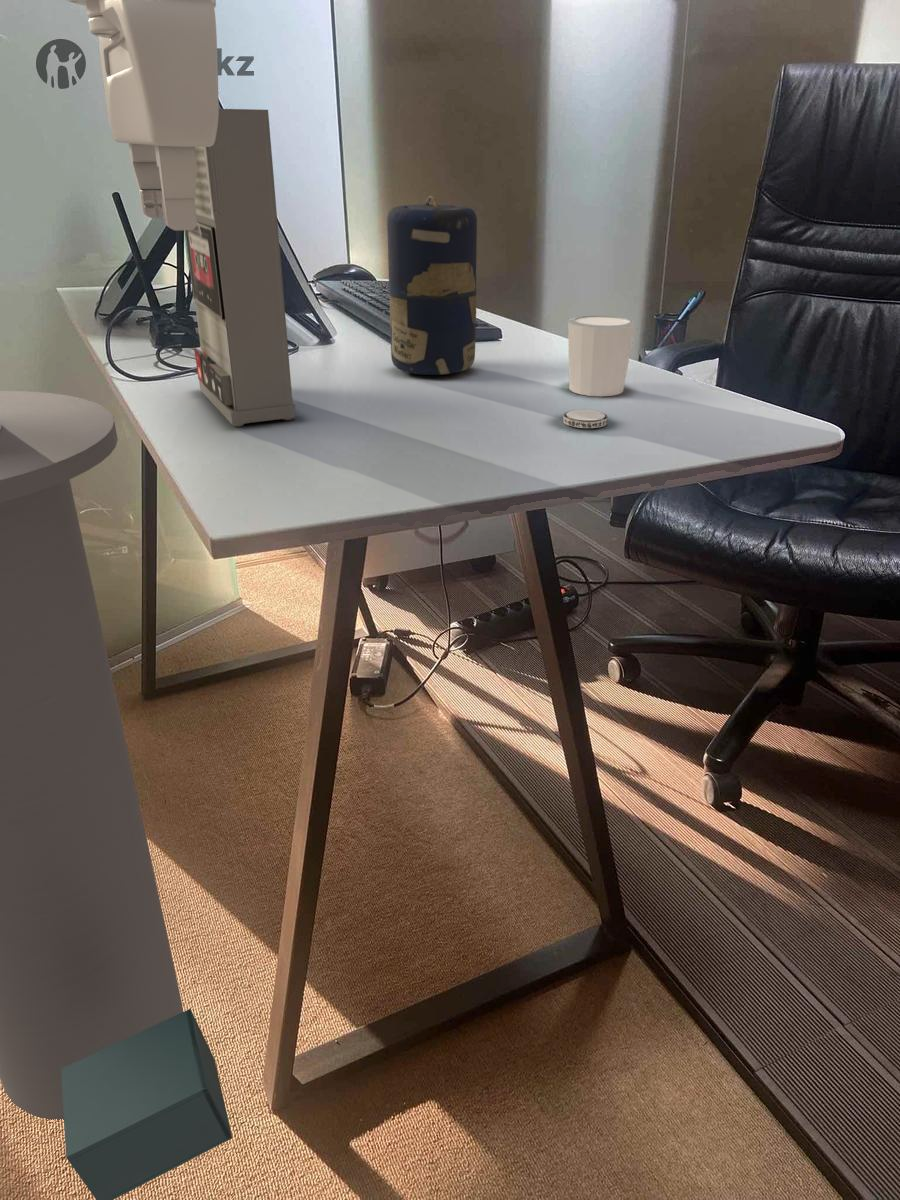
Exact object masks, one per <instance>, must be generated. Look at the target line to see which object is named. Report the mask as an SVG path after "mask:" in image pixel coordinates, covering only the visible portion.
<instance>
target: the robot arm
mask: <svg viewBox="0 0 900 1200" xmlns="http://www.w3.org/2000/svg"><path fill="white" fill-rule="evenodd" d="M66 1H68V2H70V3H72V4H76V5H81V6H85V7H86V12H87V14H86V15H87V17H88V27H89V32H90V34H92V35H93V36H96V37H98V43H99V55H100V62H101V72H102V80H103V88H104V95H105V102H106V111H107V117H108V124H109V128H110V132H111V135H112V138H113V140H114V141H115V142H117V143H120V144H128V149H129V157H130V163H131V167H132V170H133V174H134V178H135V181H136V184H137V188H138V193H139V200H140V207H141V212H142V213H143V215H145V216H146V217H148V218H151V219H163V222H164V224H165V226H166V227H168V228H169V229H171V230H172V231H184V230H193V229H195V227H196V226H197V216H196V207H195V191H196V177H197V163H196V153H195V147H211V146H213V145H214V143H215V140H216V134H217V127H218V116H219V109H220V108H219V106H220V105H219V104H220V102H219V68H218V67H219V65H218V38H217V37H218V36H217V20H216V12H215V8H216V6H217V0H66ZM1 428H2V426H1V424H0V430H1Z"/></svg>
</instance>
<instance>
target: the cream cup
mask: <svg viewBox="0 0 900 1200" xmlns="http://www.w3.org/2000/svg"><path fill="white" fill-rule="evenodd" d="M636 325H637V322H636V321H634V320H633V319H629V318H625V317H619V316H611V315H583V316H576V317H572V318H569V319H568V321H567V335H568V339H567V340H568V381H569V383H568V384H569V385H568V386H569V391H571V392H572V393H575V394H578V395H581V396H588V397H613V396H617V395H620V394H623V393H624V389H625V383H626V377H627V373H628V367H629V363H630V357H631V352H632V348H633V347H632V346H633V341H634V336H635V331H636V327H637V326H636Z"/></svg>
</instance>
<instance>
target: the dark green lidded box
mask: <svg viewBox="0 0 900 1200" xmlns="http://www.w3.org/2000/svg"><path fill="white" fill-rule="evenodd" d="M198 1023H199V1022H197V1019H196V1017H195V1015H194V1013H193V1011H192V1008H189V1009H186V1010H183V1012H182V1013H180V1014H178V1015H176V1016H174V1017H171V1018H169V1019H167V1020H165V1021H163V1022H161V1023H159V1024H156V1025H154V1026H152V1027H150V1028H148V1029H146V1030H143V1031H141V1032H139V1033H137V1034H135V1035H133V1036H131V1037H128V1038H126V1039H124V1040H122V1041H120V1042H118V1043H116V1044H113V1045H111V1046H109V1047H107V1048H105V1049H103V1050H100V1051H98V1052H96V1053H94V1054H92V1055H90V1056H88V1057H85V1058H83V1059H81V1060H79V1061H77V1062H75V1063H73V1064H70V1065H68V1066H66V1067H64V1068H62V1069H61V1079H62V1096H63V1113H64V1122H63V1127H64V1146H65V1148H64V1149H65V1158H66V1160H67V1161H68V1163H69V1164H70V1165H71V1167H72V1168H73V1169H74V1172H76V1174H77V1175H78V1177H79V1178H80V1180H81V1181H82V1182H83V1183H84V1185H85V1187H86V1188H87V1190H88V1191H89V1192H90V1193H91V1195H92V1196H93V1198H94V1199H95V1200H116V1199H118V1198H120V1197H122V1196H123V1195H126V1194H128V1193H129V1192H132V1191H133V1190H136V1189H137V1188H140V1187H141V1186H143V1185H145V1184H147V1183H149V1182H151V1181H153V1180H155V1179H157V1178H158V1177H160V1176H163V1175H165V1174H166V1173H168V1172H170V1171H172V1170H174V1169H176V1168H178V1167H180V1166H182V1165H184V1164H185V1163H187V1162H189V1161H191V1160H193V1159H195V1158H198V1157H199V1156H201V1155H203V1154H205V1153H208V1152H209V1151H211V1150H212V1149H214V1148H217V1147H218V1146H220V1145H222V1144H224V1143H227V1142H228V1141H230V1140H232V1139H233V1134H232V1130H231V1125H230V1121H229V1117H228V1113H227V1112H228V1111H227V1107H226V1102H225V1098H224V1094H223V1090H222V1085H221V1081H220V1077H219V1072H218V1068H217V1063H216V1059H215V1057H214V1055H213V1053H212V1051H211V1049H210V1045H209V1044H208V1042H207V1041H206V1038H205V1036H204V1034H203V1032H202V1030H201V1028H200V1026H199V1024H198Z"/></svg>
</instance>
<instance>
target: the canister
mask: <svg viewBox="0 0 900 1200" xmlns="http://www.w3.org/2000/svg"><path fill="white" fill-rule="evenodd" d="M430 201H432V203H433V204H430ZM386 230H387V231H386V232H387V256H388V257H387V261H388V262H387V266H388V294H389V296H388V297H389V327H390V356H391V362H392V365H393V366H394V367H395V368H397V369H398V370H400V371H402V372H405V373H409V374H413V375H427V376H436V375H437V376H439V375H440V376H441V375H451V374H456V373H460V372H463V371H466V370H468V369H469V368H471V367H472V366H473V364H474V362H475V358H476V335H477V333H476V331H477V254H478V253H477V252H478V251H477V247H478V245H477V244H478V238H477V237H478V217H477V214H476V212H475V210H474V209H472V208H471V207H469V206H464V205H454V204H438V203H437V201H436V199H435V197H434V196H433V195H429V196H428V197H426V200H425V202H424V204H407V205H406V204H405V205H399V206H393V207H392V208H390V210H389V211H388V214H387V218H386Z"/></svg>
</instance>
